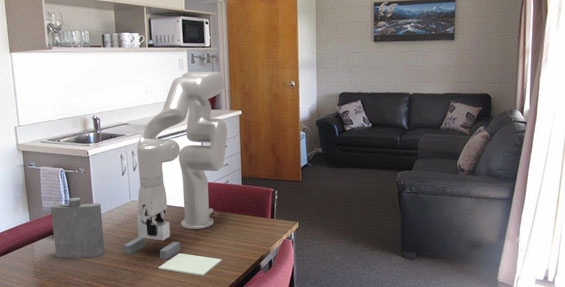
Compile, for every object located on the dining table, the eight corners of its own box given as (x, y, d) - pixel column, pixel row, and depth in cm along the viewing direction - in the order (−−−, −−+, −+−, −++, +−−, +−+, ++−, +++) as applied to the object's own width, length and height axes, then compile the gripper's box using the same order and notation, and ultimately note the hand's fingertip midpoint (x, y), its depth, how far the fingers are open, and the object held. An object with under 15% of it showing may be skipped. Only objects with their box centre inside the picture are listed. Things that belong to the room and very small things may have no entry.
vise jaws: (138, 245, 178) (138, 237, 178) (180, 250, 172) (179, 242, 172) (124, 253, 171) (123, 245, 170) (167, 259, 165) (166, 251, 164)
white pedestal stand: (145, 232, 175) (143, 212, 173) (170, 235, 171) (168, 215, 170) (138, 237, 171) (136, 216, 170) (163, 240, 168) (161, 219, 166)
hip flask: (105, 252, 173) (100, 195, 169) (102, 256, 169) (97, 199, 165) (58, 253, 172) (52, 197, 168) (53, 258, 168) (47, 200, 164)
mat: (179, 254, 169) (179, 253, 169) (221, 260, 163) (221, 259, 163) (158, 269, 158) (158, 267, 158) (203, 276, 152) (203, 274, 152)
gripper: (156, 173, 176) (160, 223, 180) (126, 187, 161) (131, 241, 164) (175, 175, 173) (179, 225, 177) (145, 188, 158) (150, 243, 162)
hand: (156, 232), depth 171 cm, fingers closed on white pedestal stand, 4 cm apart
